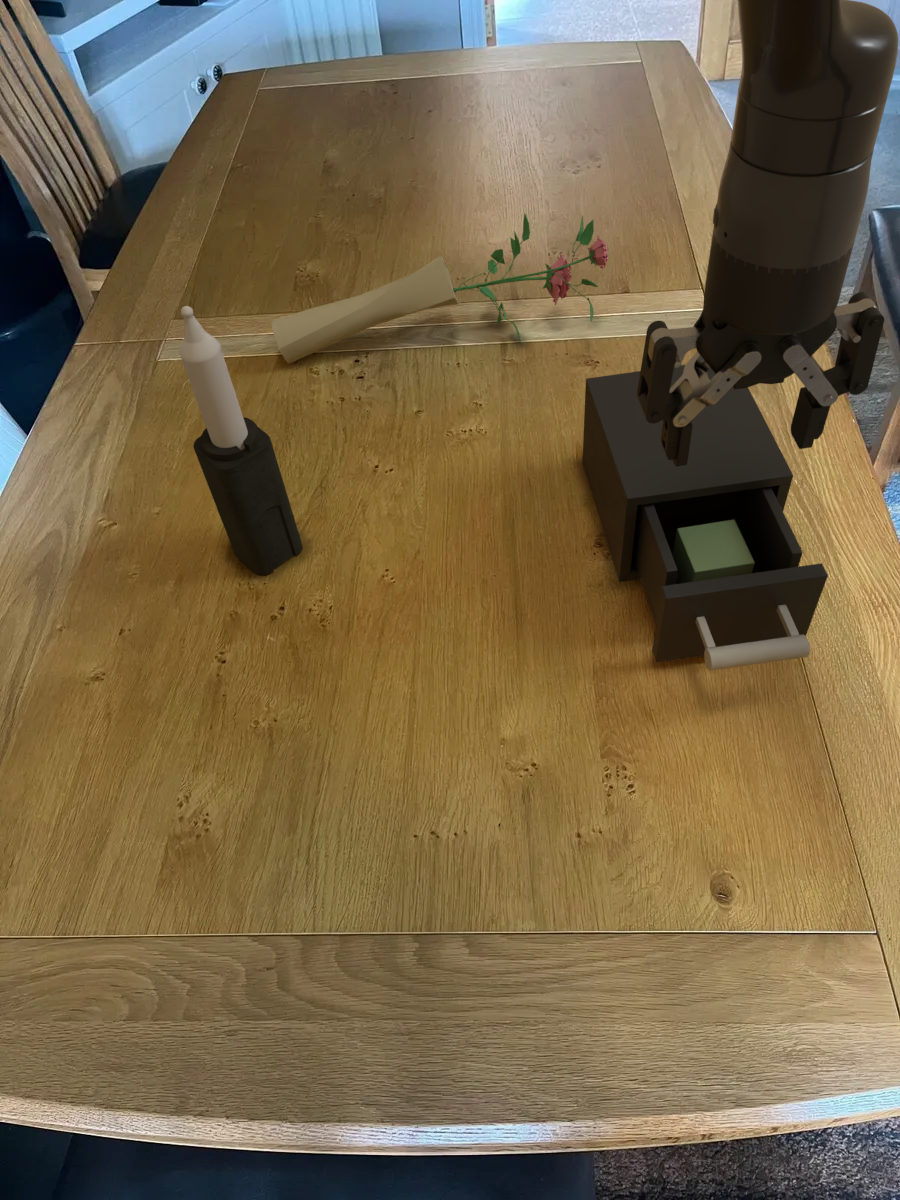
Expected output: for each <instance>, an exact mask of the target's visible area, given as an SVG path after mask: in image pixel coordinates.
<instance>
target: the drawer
mask: <svg viewBox="0 0 900 1200" xmlns="http://www.w3.org/2000/svg"><path fill="white" fill-rule="evenodd" d="M728 520H735V522H736V524H737V526H738V528H739V530H740V532H741V534H742V537H743V539H744V541H745V543H746V545H747V547H748V549H749V552H750V554H751V556H752V558H753V560H754V562H755V563H754V567H753V571H752V573H751V574H744V575H737V576H730V577H723V578H716V579H709V580H702V581H695V582H688V583H681V584H677V581H676V576H677V571H678V570H677V567H676V564H675V562H674V559H673V551H674V544H675V538H676V532H677V528H683V527H690V526H696V525H702V524H709V523H715V522H721V521H728ZM803 553H804V552H803V550H802V548H801V546H800V544H799V542H798V540H797V538H796V535H795V534H794V531H793V529H792V527H791V524H790V523H789V521H788V519H787V517H786V515H785V513H784V510H783V511H782V509H781V507H780V505H779V503H778V501H777V499H776V496H775V494H774V492H773V490H772V488H771V486H770V487H763V488H756V489H749V490H742V491H735V492H728V493H721V494H714V495H707V496H700V497H693V498H686V499H679V500H672V501H664V502H657V503H650V504H643V505H638V507H637V516H636V525H635V534H634V543H633V552H632V556H633V559H634V562H635V565H636V568H637V571H638V574H639V577H640V579H639V580H640V583H641V586H642V589H643V592H644V595H645V598H646V601H647V604H648V607H649V610H650V614H651V616H652V619H653V622H654V626H655V629H654V635H653V642H652V646H651V647H652V648H651V653H652V656H653V659H654V662H655V664H659V663H665V662H672V661H680V660H685V659H693V658H701V657H703V658H704V663H705V667H706V669H707V670H708V671H709V672H713V671H720V670H726V669H734V668H741V667H749V666H754V665H761V664H769V663H775V662H783V661H789V660H796V659H803V658H808V657H809V656H810V654H811V645H810V641H809V639H808V637H807V634H808V632H809V629H810V626H811V623H812V621H813V617H814V616H815V612H816V609H817V607H818V605H819V601H820V599H821V595H822V594H823V591H824V588H825V584H826V582H827V579H828V576H829V575H828V573H827V571H826V568H825V567H824V565H823V563H822V562H821V563H815V564H814V563H813V564H807V565H801V566H799V565H800V563H801V559H802V556H803Z"/></svg>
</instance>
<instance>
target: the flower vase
mask: <svg viewBox="0 0 900 1200" xmlns="http://www.w3.org/2000/svg"><path fill="white" fill-rule="evenodd" d="M522 221H523V222H522V223H523V224H522V235H521V239H522V240H521V242H520V240H519V237H518V235H517V233H516V231H515V230H514V231H513V235H514V238H512V237H510V238H509V239H510V247H511V254H512V256H513V259H512V262H511V263H510V266H509V268H508V270H507V271H506V273H504V275H503V277H502V278H500V279H497V280H491V281H488V277H489V274H490V273H491V274H493V275H496V274H497V273H498V270H499V269H498V265H499V264H502V265H506V262H505V257H504V249H503V248H499V249H495V250H494V251H493V252H492V253H491V254H490V257H491V259H489V260H488V261H487V270H484V271H483V272H482V273H479V274H477V275H474V276H473V277H471V278H469V279H467V280H465V281H464V282H462V283H461V284H459V286H457V287H455V288H454V285H453V281H452V277H451V275H450V272H449V268H448V265H447V263H446V262H445V260H444V258H443V256H442V254H440V255H438V256H437V257H435V258H434V259H432V260H431V261H429V262H428V263H427V264H425V265H423V266H422V267H420V268H418V269H417V270H415V271H413V272H412V273H409V274H407V275H405V276H403V277H401V278H398V279H396V280H394V281H390V282H389V283H386V284H384V285H382V286H378V287H376V288H373V289H371V290H369V291H367V292H364V293H361V294H359V295H355V296H351V297H348V298H344V299H341V300H336V301H334V302H330V303H325V304H322V305H318V306H314V307H311V308H308V309H305V310H301V311H298V312H294V313H292V314H288V315H283V316H281V317H277V318H274V319H271V329H272V333H273V337H274V340H275V342H276V345H277V347H278V350H279V352H280V353H281V355H282V358H283V359H284V360H285V361H286V363H287V364H292V363H293V362H296V361H298V360H301V359H303V358H304V357H307V356H309V355H312V354H315V353H316V352H319V351H321V350H323V349H325V348H328V347H330V346H331V345H334V344H337V343H339V342H341V341H343V340H345V339H348V338H349V337H352V336H354V335H356V334H359V333H360V332H363V331H365V330H369V328H372V327H375V326H377V325H379V324H383V323H387V322H389V321H393V320H396V319H398V318H399V319H400V318H403V317H406V316H410V315H412V314H415V313H418V312H422V311H426V310H428V309H433V308H434V309H435V308H440V307H447V306H455V305H459V299H458V297H457V294H456V292H460V291H461V292H462V291H467V290H470V291H473V290H474V289H477V291H479V292H480V293H481V294H482V295H483V296H485V297H486V298H489V299H490V300H491V302H493V304H494V306H495V308H496V309H497V311H498V314H497V315H498V316H497V319H496V324H501V322H502V320H503V321H505V320H506V321H508V322H510V323H511V324H512V325H513V326H514V328H515V331H516V333H517V334H516V335H517V336H518V340H519V343H520V344H522V340H521V334H520V331H519V329H518V326H517V324H516V323H515V322H514V321H513V320H510V319H508V317H507V313H506V311H505V308H504V307H505V306H504V304H503V302H502V301H500V304H499V305H498V303H497V300H498V299H497V298H496V296H495V294H494V293H493V290H491V289H490V288H489V286H495V285H501V284H507V283H514V282H515V283H516V282H524V281H545V283H544V284H543V287H542V289H543V290H544V289H546V290H547V292H548V295H549V296H551V298H552V302H553V303H554V306H556V305H557V304H558V301H559V297H560V299H561V300H563V299H565V298H566V297H567V296H568V295H569V294H568V292H569V291H570V289H572V290H574V291H575V292H576V293H577V294H579V295H580V296H582V297H583V298H584V299H586V300H587V301H588V303H589V314H590V318H589V319H590V322H593V321H592V320H593V318H594V307H593V304H592V303H591V300H590V297H586V296H585V295H583V294H581V293H580V292H579V291H578V290H577V289H575V288H574V287H579V286H581V285H583V286H591V287H595V288H599V285H597V284H596V283H595V282H593V281H592V280H590V279H588V278H582V279H581V281H580V284H576V285H575V284H571V283H569V282H570V281H571V279H572V275H571V272H570V271H571V270H572V267H571V266H573V265H576V264H579V263H581V262H584V261H587V260H589V261H590V265H593V264H594V266H595V267H600V269H601V270H604V269H605V268H606V266H607V262H608V260H609V258H608V257H609V254H607V253H608V251H609V250H608V248H607V246H608V245H607V243H606V242H604V240H603V239H601V237H600V236H599V235H596V236H597V238H596V240H595V241H594V242H593V243H592V244H591V245H590V243H591V241H592V238H593V236H594V232H595V229H594V227H595V225H594V224H595V223H594V219H591V221H589V222H588V223H587V224H586V225H585V227H584V215H581V220H580V226H579V230H578V233H577V235H576V238H575V241H574V242H573V244H572V253H573V255H572V258H571V262H568V260H567V258H565V257H564V255H563V254H562V253H560V254H559V257H557V260H556V262H554V263H553V264H552V265H551V266H550V265H549V264H547V263H546V262H545V263H544V265H545V267H546V270H543V271H538V272H533V273H528V274H522V275H516V276H511V277H506V276H507V274H508V273H509V272H510V270H512V267H513V264H514V262H515V259H517V257H518V255H520V254H521V244H522V243H523V242H525V241H527V240H529V239H530V236H531V235H530V234H531V228H530V221H529V219H528V217H527V214H526V213H524V216H523V220H522ZM576 242H579V244H578V246H577V247H576V249H575V250H574V248H575V247H574V246H575V245H576ZM581 245H582V246H587V249H588V256H585V257H583V258H581V259H578V260H575V261H574V257H575V254H576V252H577V250H578V249H579V247H580V246H581ZM589 245H590V247H588V246H589ZM486 272H488V273H487V275H486V279H485V282H484V283H476V284H472V285H471V284H470V285H466V283H467V282H468V281H470V280H472V279H475V278H477V277H478V276H481V275H483V274H485V273H486ZM542 274H543V275H545V274H546V275H545V276H538V275H542ZM487 281H488V282H487ZM463 285H464V286H463ZM502 317H503V319H502Z"/></svg>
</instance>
